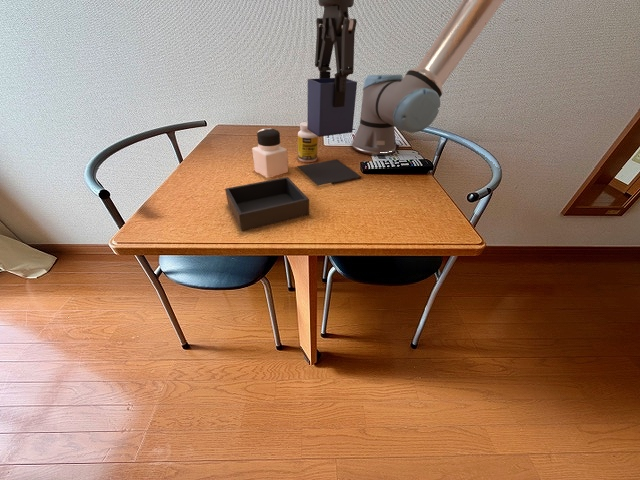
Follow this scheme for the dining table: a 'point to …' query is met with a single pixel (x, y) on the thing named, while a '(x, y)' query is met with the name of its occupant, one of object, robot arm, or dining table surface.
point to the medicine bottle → (269, 154)
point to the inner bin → (329, 108)
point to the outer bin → (266, 203)
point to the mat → (328, 172)
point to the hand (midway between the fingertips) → (331, 103)
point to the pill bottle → (307, 144)
